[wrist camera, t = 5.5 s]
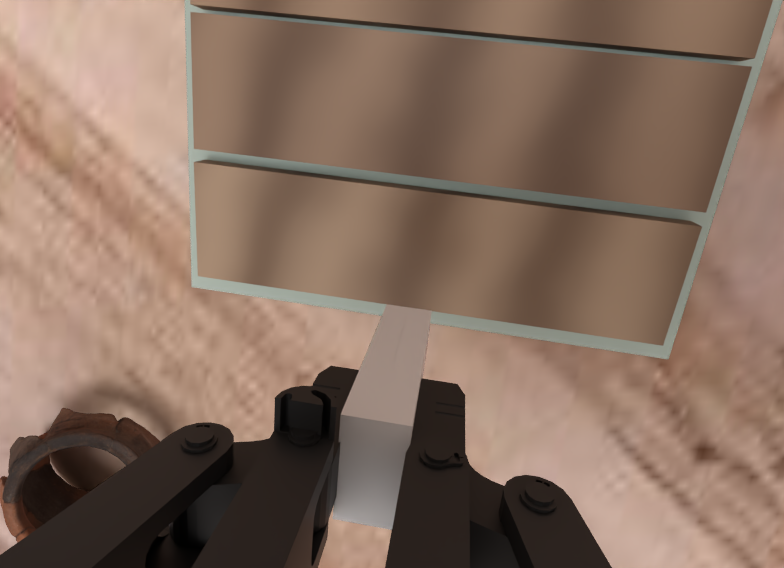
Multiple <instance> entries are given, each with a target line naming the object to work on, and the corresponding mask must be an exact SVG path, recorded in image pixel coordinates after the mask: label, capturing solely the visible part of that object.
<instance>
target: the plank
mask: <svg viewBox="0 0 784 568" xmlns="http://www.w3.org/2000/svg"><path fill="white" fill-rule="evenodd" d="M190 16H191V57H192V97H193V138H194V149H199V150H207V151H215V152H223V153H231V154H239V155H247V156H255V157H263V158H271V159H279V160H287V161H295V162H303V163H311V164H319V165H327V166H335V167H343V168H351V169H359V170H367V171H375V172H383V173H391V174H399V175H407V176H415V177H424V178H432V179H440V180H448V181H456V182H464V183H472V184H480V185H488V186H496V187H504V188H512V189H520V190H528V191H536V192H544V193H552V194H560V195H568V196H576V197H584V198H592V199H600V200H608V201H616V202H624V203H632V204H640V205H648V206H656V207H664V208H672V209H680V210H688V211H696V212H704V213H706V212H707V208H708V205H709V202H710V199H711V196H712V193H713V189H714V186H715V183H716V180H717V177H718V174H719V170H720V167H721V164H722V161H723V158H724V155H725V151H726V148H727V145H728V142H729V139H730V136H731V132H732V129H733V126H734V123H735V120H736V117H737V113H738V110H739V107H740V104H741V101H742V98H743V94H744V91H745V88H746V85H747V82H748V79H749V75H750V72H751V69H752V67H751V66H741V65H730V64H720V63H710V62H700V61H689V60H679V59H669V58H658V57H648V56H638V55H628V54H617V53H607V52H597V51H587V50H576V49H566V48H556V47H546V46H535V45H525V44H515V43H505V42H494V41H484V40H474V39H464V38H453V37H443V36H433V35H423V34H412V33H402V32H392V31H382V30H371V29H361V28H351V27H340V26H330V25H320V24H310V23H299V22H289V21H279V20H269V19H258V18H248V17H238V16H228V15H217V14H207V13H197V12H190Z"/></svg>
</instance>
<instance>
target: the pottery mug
mask: <svg viewBox="0 0 784 568" xmlns="http://www.w3.org/2000/svg"><path fill="white" fill-rule="evenodd" d="M159 442H160V441H159V440H158V439H157V438H156V437H155V436H153V435H152V434H151V433H150V432H149V431H148V430H146V429H145V428H144V427H142V426H140V425H139V424H137V423H135V422H134V421H133V420H131V419H129V418H126V417H124V418H122V419H120V420H119V421H117V420H116V418H115V416H114V415H112V414H104V413H98V414H83V413H77V412H73V411H72V410H70V409H66V408H63V409H61V412H60V414H59V415H58V416H57V418H56V419H55V421H54V422H53V424H52V426H51V429H50V430H49V433H44V434H43V435H40V436H39V437H38V436H27V437H26V438H24V437H19V438H18V439H17V440H16V441H15V443H14V444H13V445H12V447H11V449H10V459H9V470H8V473H9V476H8V478H7V477H5V476H2V477H1V478H0V503H1V506H2V509H3V514H4V518H5V522H6V525H7V527H8V529H9V531H10V533H11V534H12V535H13V536H15V537H16V541H17V542H19V541H21V540H22V539H24V538H25V537H27V536H28V535H29V534H31V533H32V532H34V531H35V530H36V529H38V528H39V527H41V526H42V525H44V524H45V523H46V522H48V521H49V520H51V519H52V518H53V517H55V516H56V515H58V514H59V513H60V512H62V511H63V510H65V509H66V508H68V507H69V506H70V505H72V504H73V503H75V502H76V501H77V500H79V499H80V498H82V497H83V496H84V495H86V494H87V493H89V492H87V491H84V490H80V489H77V488H75V487H73V486H71V485H69V484H68V483H67V482H65V481H64V480H63V479H62V478H61V477H60V476H58V475H57V474H56V473H55V471H54V470H53V468H52V465H51V464H50V458H49V454H50V453H52V452H55V451H57V450H61V449H66V448H70V447H77V446H91V447H95V448H99V449H103V450H105V451H108V452H109V453H111V454H113V455H114V456H116V457H118V458H119V459H120V460H121V461H122V462H123V463H124V464H125V465H126V466H127V465H128V464H130V463H131V462H132V461H134V460H135V459H137V458H138V457H140V456H141V455H142V454H144V453H145V452H147V451H148V450H149V449H151V448H152V447H154V446H155V445H156V444H158V443H159Z"/></svg>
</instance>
